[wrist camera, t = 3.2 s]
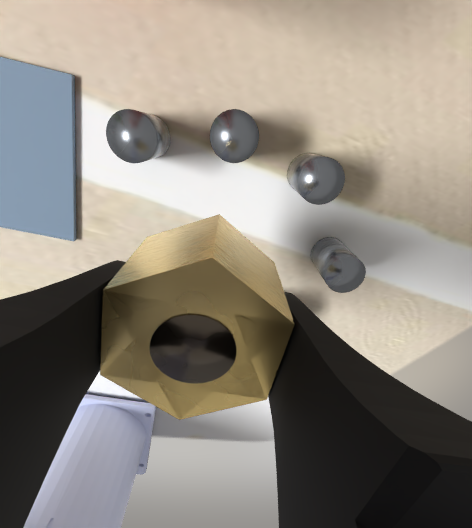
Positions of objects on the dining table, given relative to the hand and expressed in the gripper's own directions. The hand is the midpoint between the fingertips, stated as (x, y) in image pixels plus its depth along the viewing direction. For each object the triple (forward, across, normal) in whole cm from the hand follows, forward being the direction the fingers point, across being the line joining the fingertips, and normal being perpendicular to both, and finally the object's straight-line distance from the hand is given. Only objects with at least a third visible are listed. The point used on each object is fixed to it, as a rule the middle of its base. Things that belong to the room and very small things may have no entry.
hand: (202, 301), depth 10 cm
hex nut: (+1, 0, 0) cm, 1 cm away
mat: (+8, +12, -2) cm, 15 cm away
